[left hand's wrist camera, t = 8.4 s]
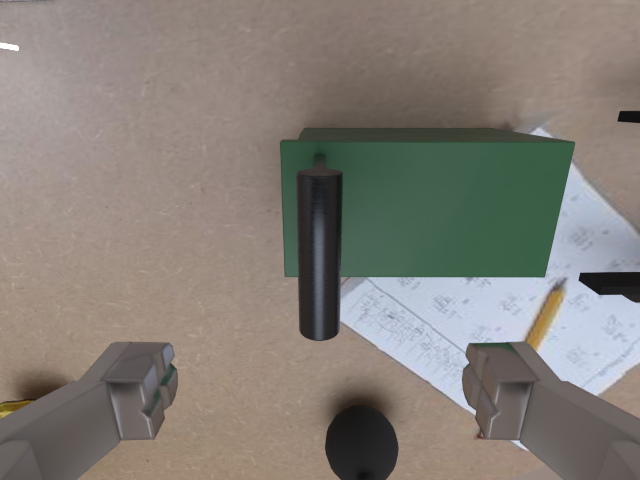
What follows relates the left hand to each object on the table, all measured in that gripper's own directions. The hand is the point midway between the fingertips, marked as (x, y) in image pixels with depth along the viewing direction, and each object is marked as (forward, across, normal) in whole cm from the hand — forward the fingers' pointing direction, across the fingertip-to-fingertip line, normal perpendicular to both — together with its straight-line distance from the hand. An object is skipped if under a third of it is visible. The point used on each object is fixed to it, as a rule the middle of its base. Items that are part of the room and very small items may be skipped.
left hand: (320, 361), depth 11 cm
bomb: (+27, -4, +29) cm, 39 cm away
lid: (+16, -6, 0) cm, 17 cm away
